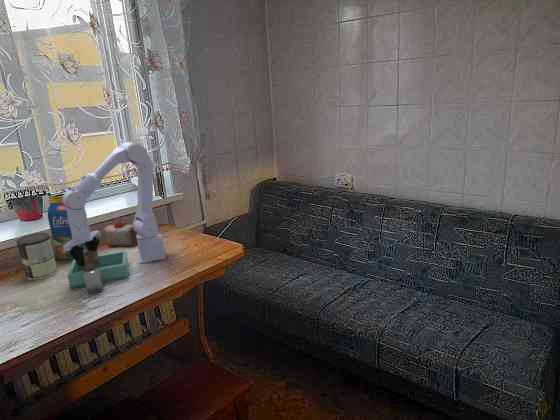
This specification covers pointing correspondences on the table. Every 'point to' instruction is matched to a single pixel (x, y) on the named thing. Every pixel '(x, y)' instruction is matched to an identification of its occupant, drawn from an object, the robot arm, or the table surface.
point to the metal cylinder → (93, 280)
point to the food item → (121, 235)
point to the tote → (102, 269)
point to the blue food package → (60, 227)
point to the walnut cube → (89, 260)
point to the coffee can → (37, 256)
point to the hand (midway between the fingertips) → (87, 262)
